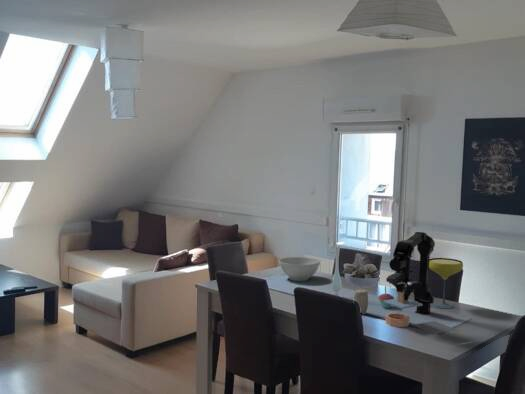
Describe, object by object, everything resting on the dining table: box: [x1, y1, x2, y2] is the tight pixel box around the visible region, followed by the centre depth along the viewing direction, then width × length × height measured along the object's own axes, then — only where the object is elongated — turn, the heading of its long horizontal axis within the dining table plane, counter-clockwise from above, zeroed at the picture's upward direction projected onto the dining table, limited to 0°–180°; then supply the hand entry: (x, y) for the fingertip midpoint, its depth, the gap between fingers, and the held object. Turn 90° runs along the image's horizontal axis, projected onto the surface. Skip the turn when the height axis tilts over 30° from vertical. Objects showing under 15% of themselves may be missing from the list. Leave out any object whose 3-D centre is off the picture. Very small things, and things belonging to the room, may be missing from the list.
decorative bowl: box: [278, 256, 321, 282], centre depth 361 cm, size 27×27×12 cm
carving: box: [353, 288, 369, 315], centre depth 286 cm, size 6×8×12 cm
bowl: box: [385, 312, 411, 328], centre depth 268 cm, size 11×11×4 cm
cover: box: [383, 290, 423, 310], centre depth 266 cm, size 13×13×6 cm
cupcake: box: [378, 285, 395, 309], centre depth 298 cm, size 9×8×12 cm
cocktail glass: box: [429, 257, 464, 310], centre depth 300 cm, size 18×18×25 cm
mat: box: [411, 320, 458, 335], centre depth 263 cm, size 15×15×1 cm
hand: (402, 299), depth 266 cm, fingers closed on cover, 4 cm apart
